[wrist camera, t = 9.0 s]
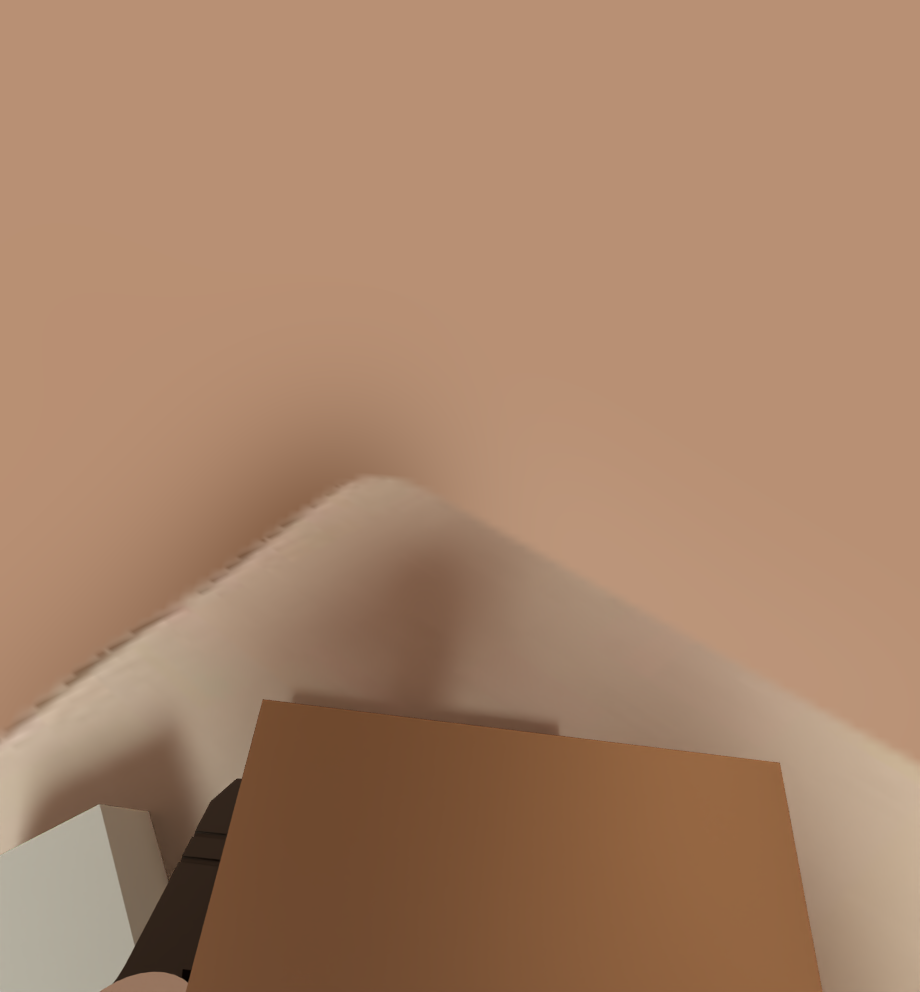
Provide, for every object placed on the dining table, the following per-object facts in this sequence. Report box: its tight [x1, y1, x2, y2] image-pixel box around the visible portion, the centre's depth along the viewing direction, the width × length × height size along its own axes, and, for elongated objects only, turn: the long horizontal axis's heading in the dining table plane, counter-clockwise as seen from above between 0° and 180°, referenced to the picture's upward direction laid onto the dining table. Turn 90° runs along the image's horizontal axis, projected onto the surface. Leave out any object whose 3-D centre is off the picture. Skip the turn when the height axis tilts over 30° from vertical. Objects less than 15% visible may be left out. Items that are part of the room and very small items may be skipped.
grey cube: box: [0, 804, 168, 992], centre depth 16 cm, size 4×4×4 cm
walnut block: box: [186, 699, 822, 992], centre depth 8 cm, size 4×4×10 cm
